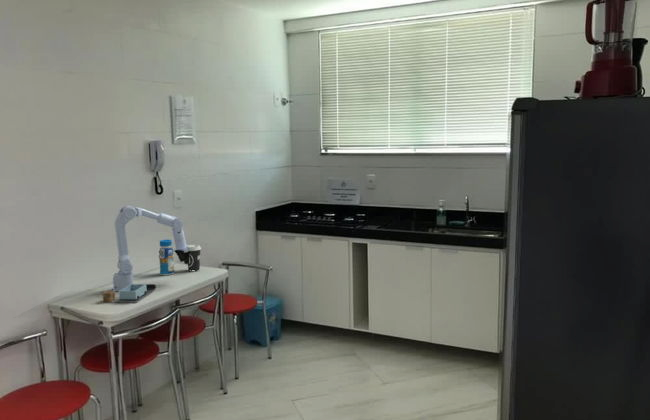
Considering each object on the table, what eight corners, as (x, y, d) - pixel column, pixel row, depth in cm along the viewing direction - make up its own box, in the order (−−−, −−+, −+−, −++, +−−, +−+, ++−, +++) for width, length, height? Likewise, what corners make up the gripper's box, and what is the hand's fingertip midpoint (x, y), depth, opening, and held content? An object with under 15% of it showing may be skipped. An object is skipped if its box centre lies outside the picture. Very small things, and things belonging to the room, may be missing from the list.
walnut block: (103, 302, 249) (102, 293, 249) (107, 299, 253) (106, 291, 253) (111, 302, 249) (110, 293, 249) (115, 300, 253) (114, 291, 253)
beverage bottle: (158, 273, 305) (156, 240, 302) (173, 271, 309) (171, 238, 306) (161, 276, 297) (159, 242, 295) (176, 274, 301) (174, 240, 299)
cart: (118, 299, 250) (117, 291, 249) (129, 292, 262) (129, 284, 261) (137, 299, 249) (136, 291, 248) (148, 292, 261) (147, 284, 260)
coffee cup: (198, 272, 305) (197, 247, 303) (183, 272, 307) (181, 247, 305) (204, 268, 315) (203, 244, 313) (190, 268, 316) (188, 244, 314)
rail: (116, 302, 248) (116, 296, 248) (137, 289, 271) (137, 284, 270) (136, 303, 248) (136, 296, 247) (155, 289, 270) (155, 284, 269)
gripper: (191, 238, 279) (196, 262, 281) (182, 235, 291) (187, 258, 293) (178, 242, 275) (183, 266, 278) (170, 238, 287) (175, 261, 290)
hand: (184, 262), depth 285 cm, fingers open, 7 cm apart
